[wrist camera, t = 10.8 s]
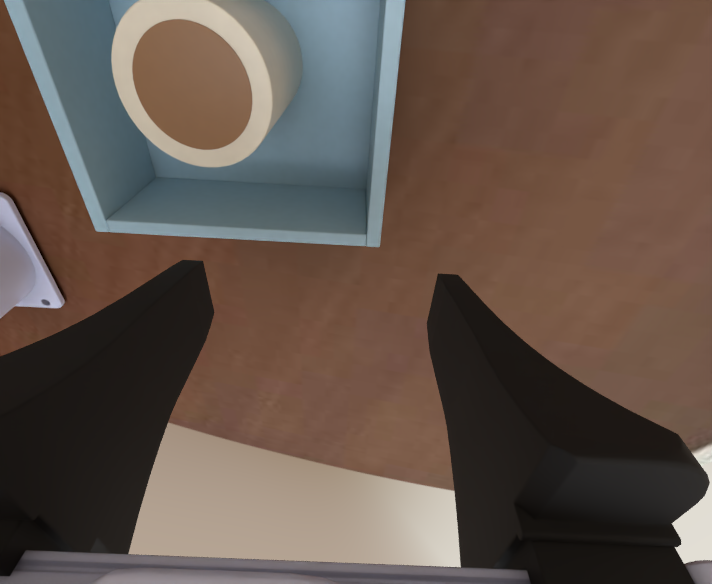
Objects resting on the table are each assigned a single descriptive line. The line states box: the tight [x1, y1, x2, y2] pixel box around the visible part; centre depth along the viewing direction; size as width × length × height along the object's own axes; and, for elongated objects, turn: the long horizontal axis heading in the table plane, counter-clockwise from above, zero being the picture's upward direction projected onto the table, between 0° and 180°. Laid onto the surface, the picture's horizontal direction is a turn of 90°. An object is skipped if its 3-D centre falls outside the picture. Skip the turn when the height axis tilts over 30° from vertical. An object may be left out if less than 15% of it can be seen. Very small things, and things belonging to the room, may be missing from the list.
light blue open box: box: [4, 0, 406, 247], centre depth 15 cm, size 12×12×6 cm
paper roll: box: [111, 0, 303, 167], centre depth 14 cm, size 5×5×7 cm
